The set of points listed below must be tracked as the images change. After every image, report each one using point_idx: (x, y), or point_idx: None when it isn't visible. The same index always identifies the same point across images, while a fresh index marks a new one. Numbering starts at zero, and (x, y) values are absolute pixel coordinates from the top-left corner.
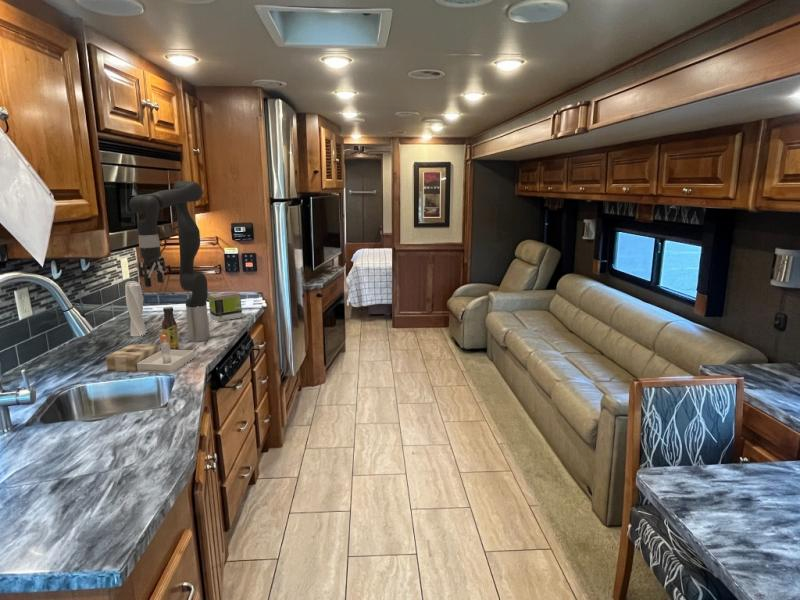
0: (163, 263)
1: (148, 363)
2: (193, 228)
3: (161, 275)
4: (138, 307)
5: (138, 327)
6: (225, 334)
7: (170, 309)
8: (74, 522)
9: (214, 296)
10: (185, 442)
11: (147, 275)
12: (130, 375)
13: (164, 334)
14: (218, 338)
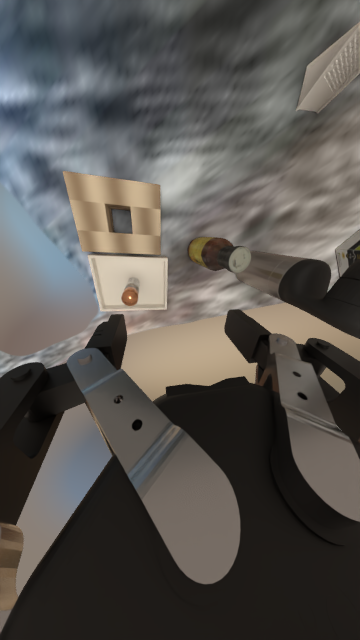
0: (352, 433)
1: (95, 276)
2: None
3: (244, 355)
4: None
5: (324, 82)
6: (265, 293)
7: (230, 270)
8: None
9: None
10: None
11: (82, 398)
12: (73, 251)
13: (131, 298)
14: (248, 292)
